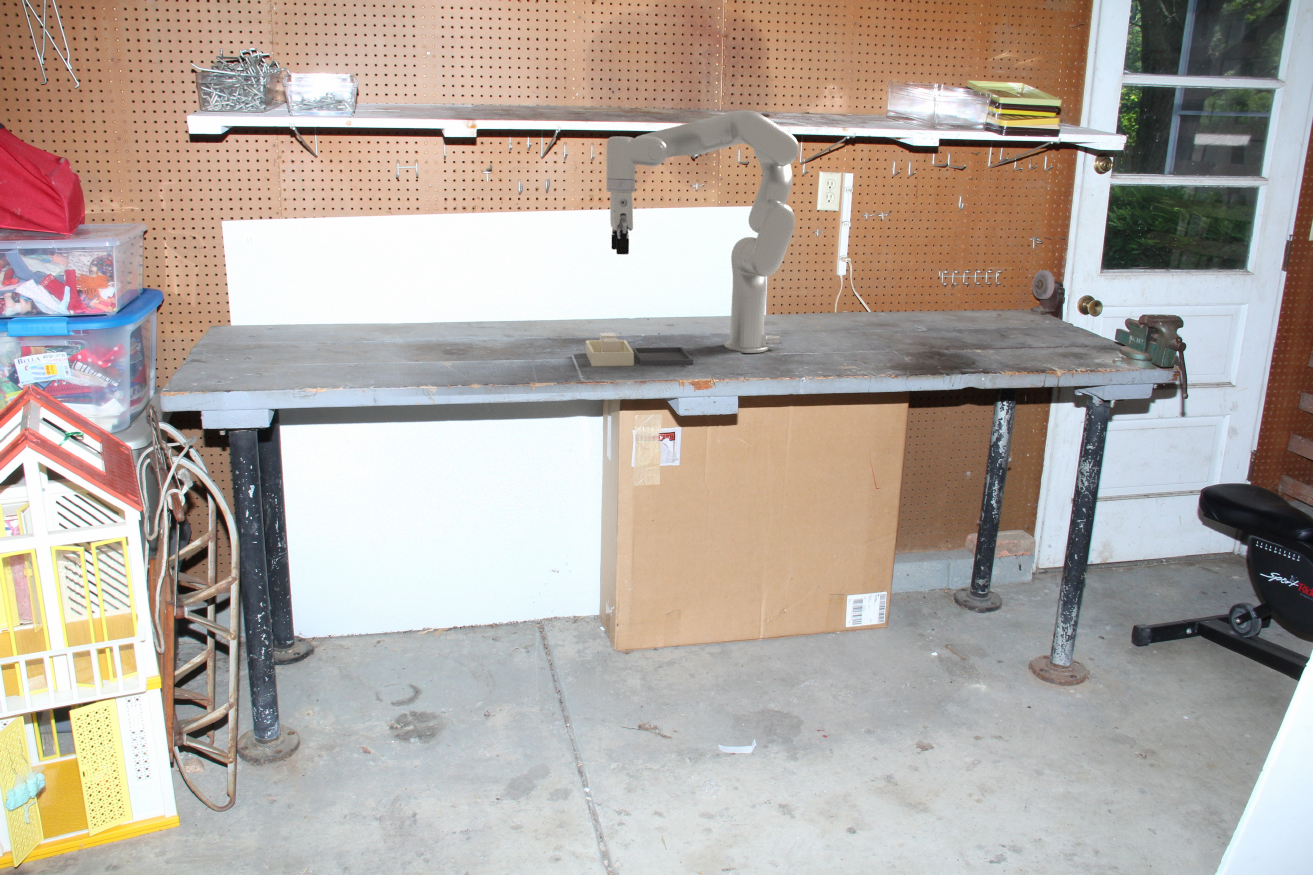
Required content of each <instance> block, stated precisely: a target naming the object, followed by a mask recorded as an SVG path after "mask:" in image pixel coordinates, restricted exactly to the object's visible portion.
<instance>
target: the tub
mask: <svg viewBox="0 0 1313 875" xmlns="http://www.w3.org/2000/svg"><path fill="white" fill-rule="evenodd" d="M618 340H619V341H620V352H600V339H598V340H585V354H586V357H587V359H588V361H589V363H590V365H591V367H628V366H631V367H633V366H635V365H634V364H635V363H634V359H635V356H634V352H633V350H632V347H631V346H630V345H629V343H628V342H627V340H626V339H618Z"/></svg>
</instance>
